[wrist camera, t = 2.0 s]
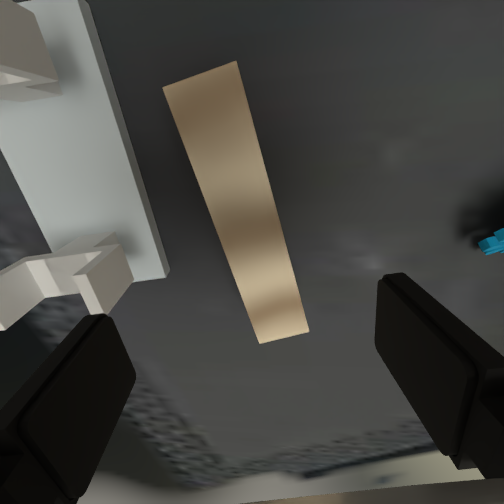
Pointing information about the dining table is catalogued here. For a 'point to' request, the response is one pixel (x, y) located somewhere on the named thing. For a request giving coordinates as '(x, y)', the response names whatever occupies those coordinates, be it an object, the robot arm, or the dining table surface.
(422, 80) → the dining table surface
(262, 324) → the rail
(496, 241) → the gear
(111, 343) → the robot arm
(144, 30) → the dining table surface
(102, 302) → the cradle
